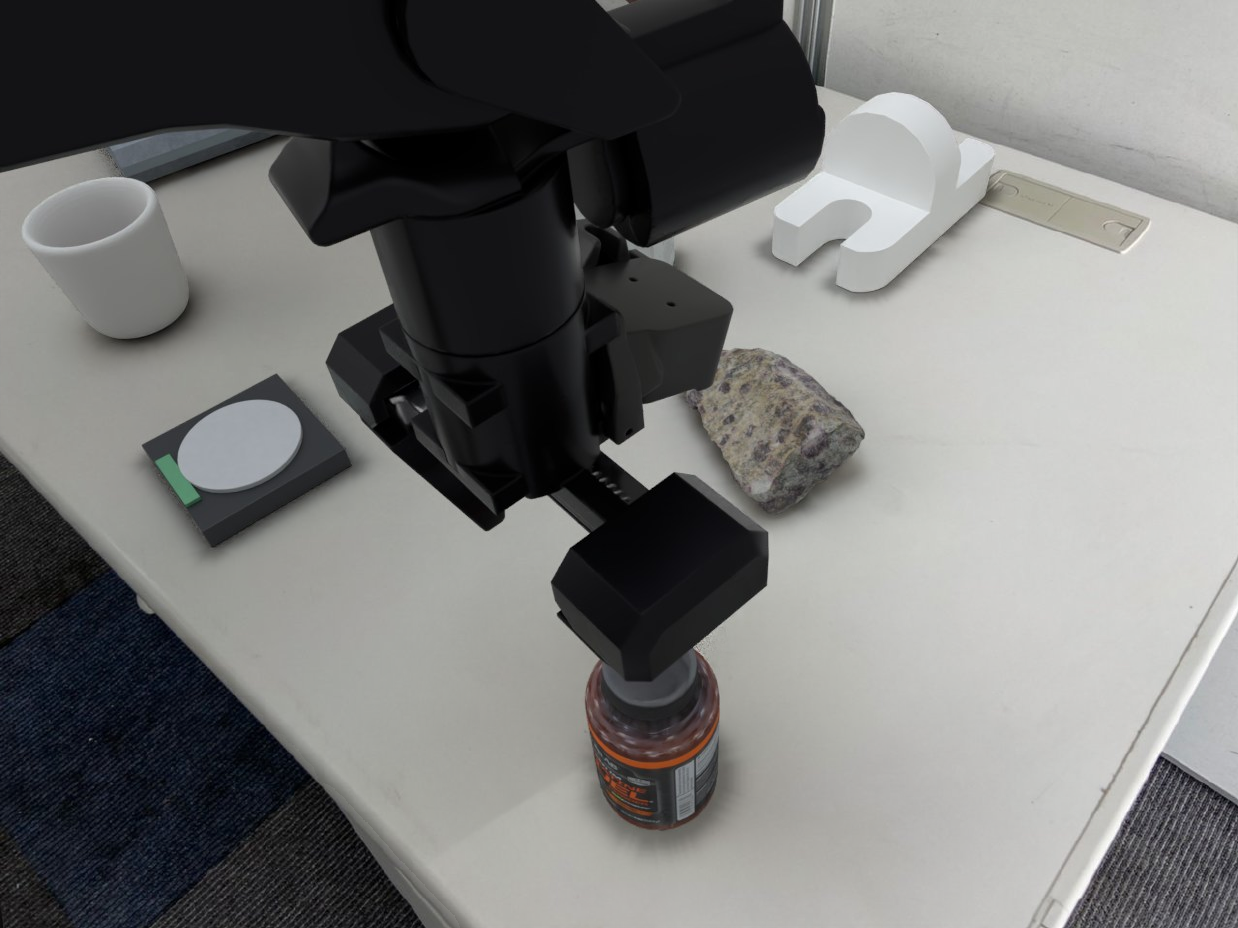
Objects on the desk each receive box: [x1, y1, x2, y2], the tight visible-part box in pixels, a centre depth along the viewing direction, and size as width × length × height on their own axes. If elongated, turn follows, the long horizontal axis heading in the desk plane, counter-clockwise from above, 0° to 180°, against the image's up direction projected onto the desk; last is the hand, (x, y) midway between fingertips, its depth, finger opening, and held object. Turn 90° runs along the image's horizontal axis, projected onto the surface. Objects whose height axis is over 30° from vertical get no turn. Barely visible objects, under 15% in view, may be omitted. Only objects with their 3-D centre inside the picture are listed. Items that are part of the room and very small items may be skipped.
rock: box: [685, 347, 866, 515], centre depth 62 cm, size 13×6×10 cm
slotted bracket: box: [771, 91, 996, 293], centre depth 74 cm, size 18×10×10 cm, turn 137°
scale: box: [141, 373, 352, 548], centre depth 64 cm, size 10×10×2 cm
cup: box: [21, 176, 190, 340], centre depth 74 cm, size 13×9×9 cm
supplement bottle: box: [584, 647, 721, 832], centre depth 44 cm, size 6×6×11 cm
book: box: [105, 129, 277, 184], centre depth 95 cm, size 21×16×5 cm
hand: (557, 585), depth 41 cm, fingers open, 9 cm apart
